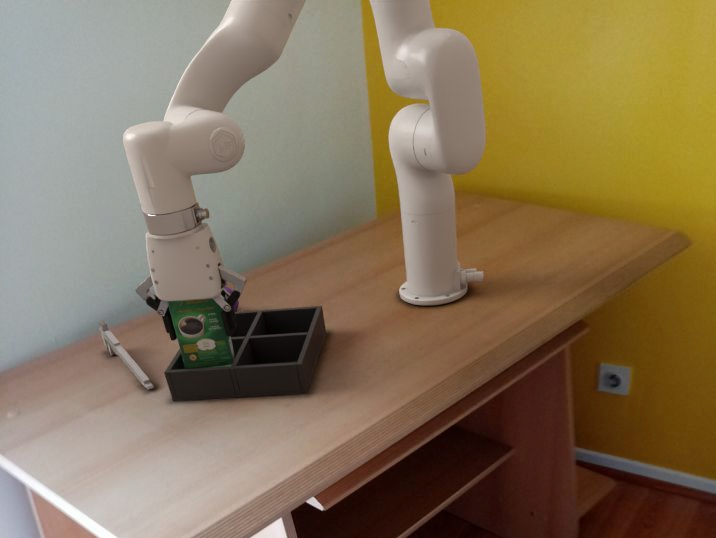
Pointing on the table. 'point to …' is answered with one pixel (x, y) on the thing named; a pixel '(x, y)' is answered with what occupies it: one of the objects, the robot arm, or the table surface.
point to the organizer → (258, 357)
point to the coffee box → (201, 333)
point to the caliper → (122, 354)
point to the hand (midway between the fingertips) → (203, 334)
